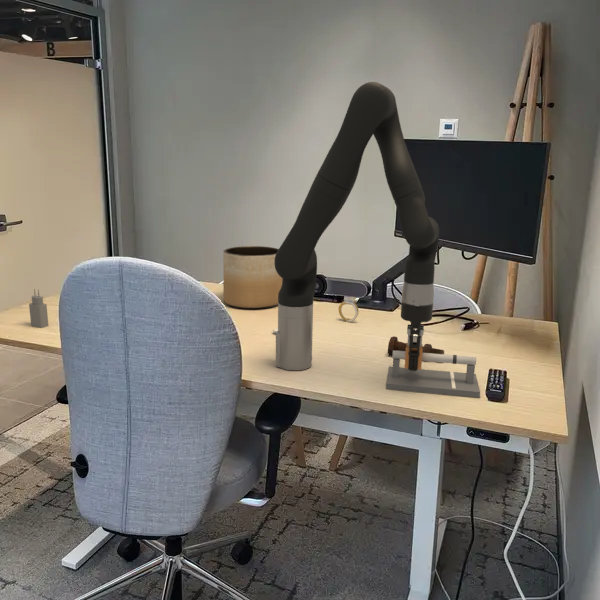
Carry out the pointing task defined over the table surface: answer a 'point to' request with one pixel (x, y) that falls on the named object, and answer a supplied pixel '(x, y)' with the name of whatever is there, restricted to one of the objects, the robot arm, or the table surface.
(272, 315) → the table surface
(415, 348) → the collar
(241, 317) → the table surface
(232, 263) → the planter
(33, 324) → the power adapter
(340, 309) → the ring
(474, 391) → the pipe stand
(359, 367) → the table surface
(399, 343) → the bolt
